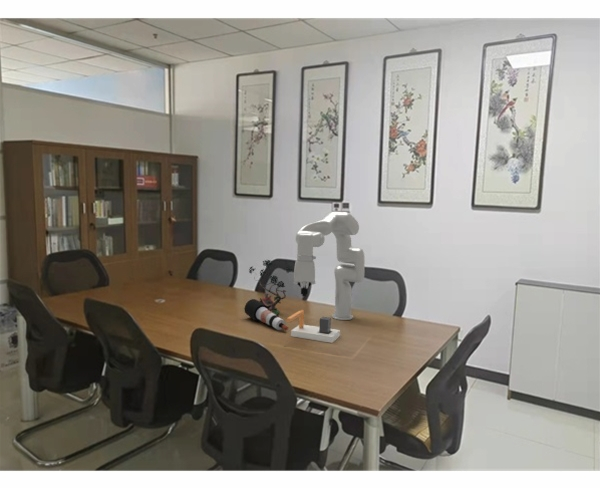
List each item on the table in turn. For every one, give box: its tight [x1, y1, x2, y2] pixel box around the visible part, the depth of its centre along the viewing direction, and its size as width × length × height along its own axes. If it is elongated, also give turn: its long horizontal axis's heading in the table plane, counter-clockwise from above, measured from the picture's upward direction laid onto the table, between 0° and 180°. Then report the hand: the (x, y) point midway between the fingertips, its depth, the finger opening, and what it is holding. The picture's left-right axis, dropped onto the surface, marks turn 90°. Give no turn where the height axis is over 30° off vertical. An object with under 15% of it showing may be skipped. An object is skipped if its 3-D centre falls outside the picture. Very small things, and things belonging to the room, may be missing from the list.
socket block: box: [290, 324, 341, 344], centre depth 237 cm, size 12×22×4 cm, turn 67°
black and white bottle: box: [244, 298, 289, 331], centre depth 257 cm, size 10×34×10 cm, turn 38°
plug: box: [319, 316, 332, 334], centre depth 235 cm, size 4×4×10 cm
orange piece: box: [286, 309, 305, 328], centre depth 233 cm, size 17×2×9 cm, turn 157°
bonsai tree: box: [248, 259, 293, 316], centre depth 284 cm, size 35×24×32 cm
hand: (304, 295), depth 227 cm, fingers closed
